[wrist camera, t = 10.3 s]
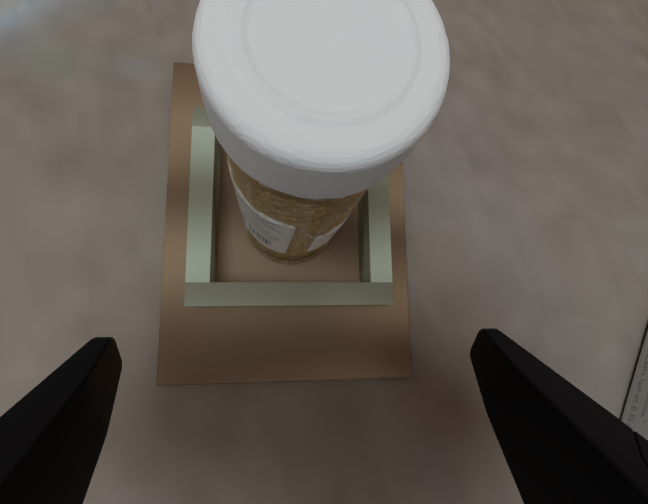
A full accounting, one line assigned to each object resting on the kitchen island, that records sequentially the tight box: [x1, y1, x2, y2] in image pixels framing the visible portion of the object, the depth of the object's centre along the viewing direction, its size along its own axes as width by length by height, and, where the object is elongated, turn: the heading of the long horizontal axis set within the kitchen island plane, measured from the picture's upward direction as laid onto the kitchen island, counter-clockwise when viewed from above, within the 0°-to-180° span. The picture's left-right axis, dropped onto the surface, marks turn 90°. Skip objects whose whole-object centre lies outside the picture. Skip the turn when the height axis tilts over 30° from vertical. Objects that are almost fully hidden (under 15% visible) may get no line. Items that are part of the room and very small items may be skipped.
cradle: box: [157, 63, 412, 386], centre depth 19 cm, size 16×12×3 cm
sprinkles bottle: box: [192, 0, 450, 264], centre depth 13 cm, size 5×5×14 cm
